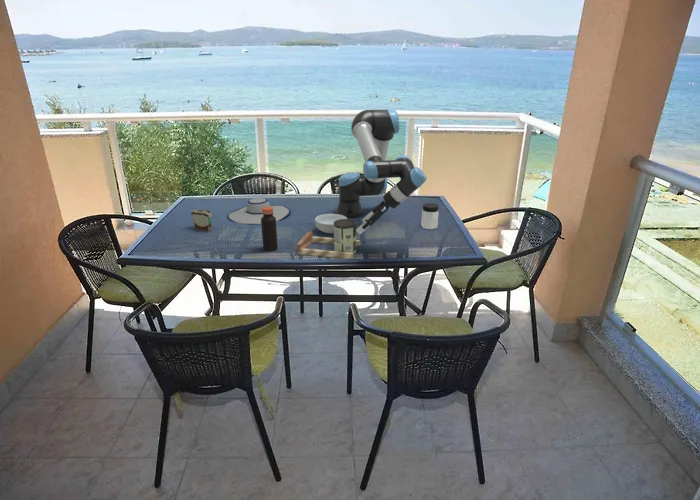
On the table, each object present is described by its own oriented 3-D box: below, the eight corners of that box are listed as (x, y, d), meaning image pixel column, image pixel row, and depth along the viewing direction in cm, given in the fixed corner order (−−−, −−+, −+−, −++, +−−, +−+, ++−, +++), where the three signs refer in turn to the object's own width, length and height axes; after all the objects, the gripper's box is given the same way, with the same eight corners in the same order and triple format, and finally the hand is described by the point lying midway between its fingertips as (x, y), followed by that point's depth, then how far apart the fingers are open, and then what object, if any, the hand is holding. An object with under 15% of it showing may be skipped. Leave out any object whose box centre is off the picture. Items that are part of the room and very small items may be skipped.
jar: (428, 230, 234) (429, 208, 230) (417, 226, 241) (419, 204, 236) (440, 227, 239) (442, 205, 234) (430, 223, 245) (431, 201, 240)
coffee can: (345, 245, 216) (344, 217, 211) (360, 250, 210) (360, 222, 204) (329, 251, 210) (328, 222, 204) (344, 257, 203) (344, 228, 198)
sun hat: (293, 205, 277) (292, 191, 274) (287, 225, 244) (286, 209, 241) (234, 205, 276) (233, 191, 273) (220, 226, 243) (218, 210, 240)
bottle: (265, 245, 216) (262, 205, 208) (279, 246, 215) (276, 206, 207) (261, 251, 210) (258, 210, 202) (275, 251, 209) (272, 210, 201)
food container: (219, 228, 238) (216, 210, 234) (211, 232, 233) (208, 214, 229) (201, 225, 243) (198, 207, 239) (192, 228, 237) (190, 210, 233)
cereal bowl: (335, 239, 223) (335, 226, 220) (308, 233, 231) (308, 220, 228) (353, 229, 236) (353, 216, 234) (327, 223, 244) (327, 211, 242)
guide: (297, 254, 206) (297, 244, 204) (308, 240, 221) (308, 231, 220) (352, 259, 201) (352, 248, 199) (360, 245, 216) (360, 235, 214)
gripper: (397, 211, 183) (361, 243, 192) (403, 195, 205) (371, 223, 214) (385, 198, 182) (349, 230, 191) (392, 183, 204) (360, 212, 213)
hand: (360, 227), depth 202 cm, fingers open, 13 cm apart
